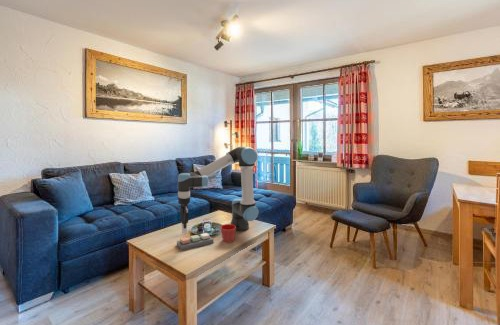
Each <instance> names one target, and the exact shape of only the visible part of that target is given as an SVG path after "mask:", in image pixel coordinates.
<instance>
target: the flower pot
mask: <svg viewBox="0 0 500 325" xmlns="http://www.w3.org/2000/svg"><path fill="white" fill-rule="evenodd" d="M220 234H221V238H222V241H223V242H224V243H232V242H233V241H234V240H235V236H236V226H235V225H233V224H231V223H226V224H222V225H221V226H220Z"/></svg>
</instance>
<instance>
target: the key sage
mask: <svg viewBox="0 0 500 325" xmlns="http://www.w3.org/2000/svg"><path fill="white" fill-rule="evenodd" d="M199 236H200V235H198V234H195V235H191V236H190V238H191V240H192V241H193V242H195V241H199V240H200V237H199Z"/></svg>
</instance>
